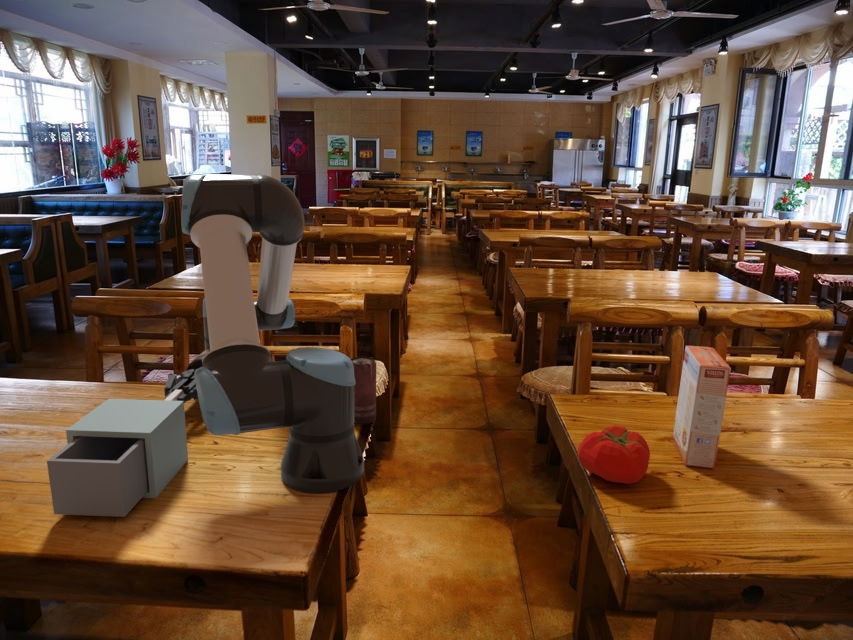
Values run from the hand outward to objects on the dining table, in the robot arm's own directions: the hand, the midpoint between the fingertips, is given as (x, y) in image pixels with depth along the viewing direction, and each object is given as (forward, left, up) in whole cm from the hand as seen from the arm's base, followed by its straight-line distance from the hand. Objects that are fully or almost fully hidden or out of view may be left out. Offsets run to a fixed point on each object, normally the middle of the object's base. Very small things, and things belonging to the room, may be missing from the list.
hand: (167, 407), depth 128 cm
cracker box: (-72, -79, -7) cm, 107 cm away
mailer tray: (-14, +13, -5) cm, 19 cm away
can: (-17, -36, -7) cm, 41 cm away
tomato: (-67, -58, -7) cm, 89 cm away
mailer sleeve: (-12, +11, -7) cm, 17 cm away
